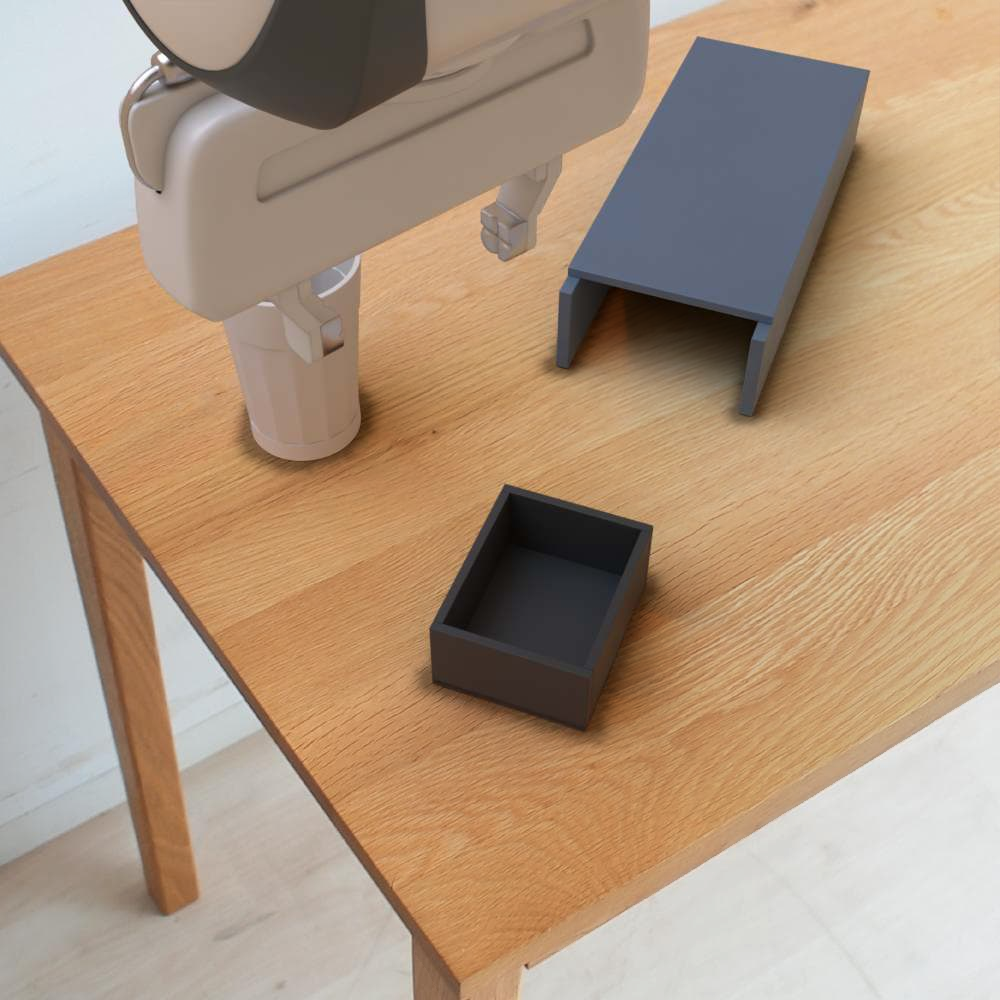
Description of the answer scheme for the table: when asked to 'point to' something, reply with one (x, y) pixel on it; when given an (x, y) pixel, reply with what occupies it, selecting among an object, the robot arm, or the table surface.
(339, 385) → the cup
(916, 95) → the table surface
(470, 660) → the basket
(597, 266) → the cubby shelf
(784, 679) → the table surface
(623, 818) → the table surface
